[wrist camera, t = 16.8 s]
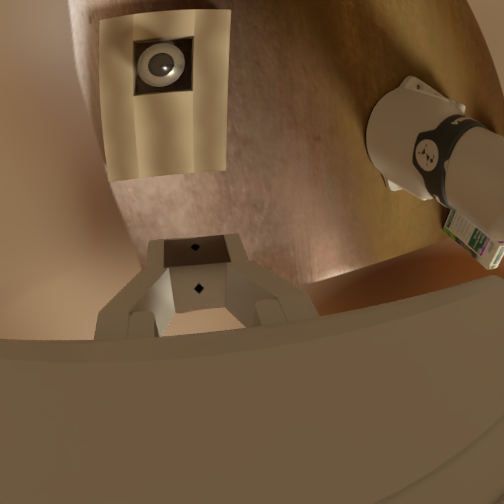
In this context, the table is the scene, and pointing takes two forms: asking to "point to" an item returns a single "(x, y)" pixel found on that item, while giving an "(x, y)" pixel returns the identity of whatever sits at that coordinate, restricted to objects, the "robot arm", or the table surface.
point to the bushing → (161, 64)
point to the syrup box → (474, 240)
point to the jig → (164, 96)
